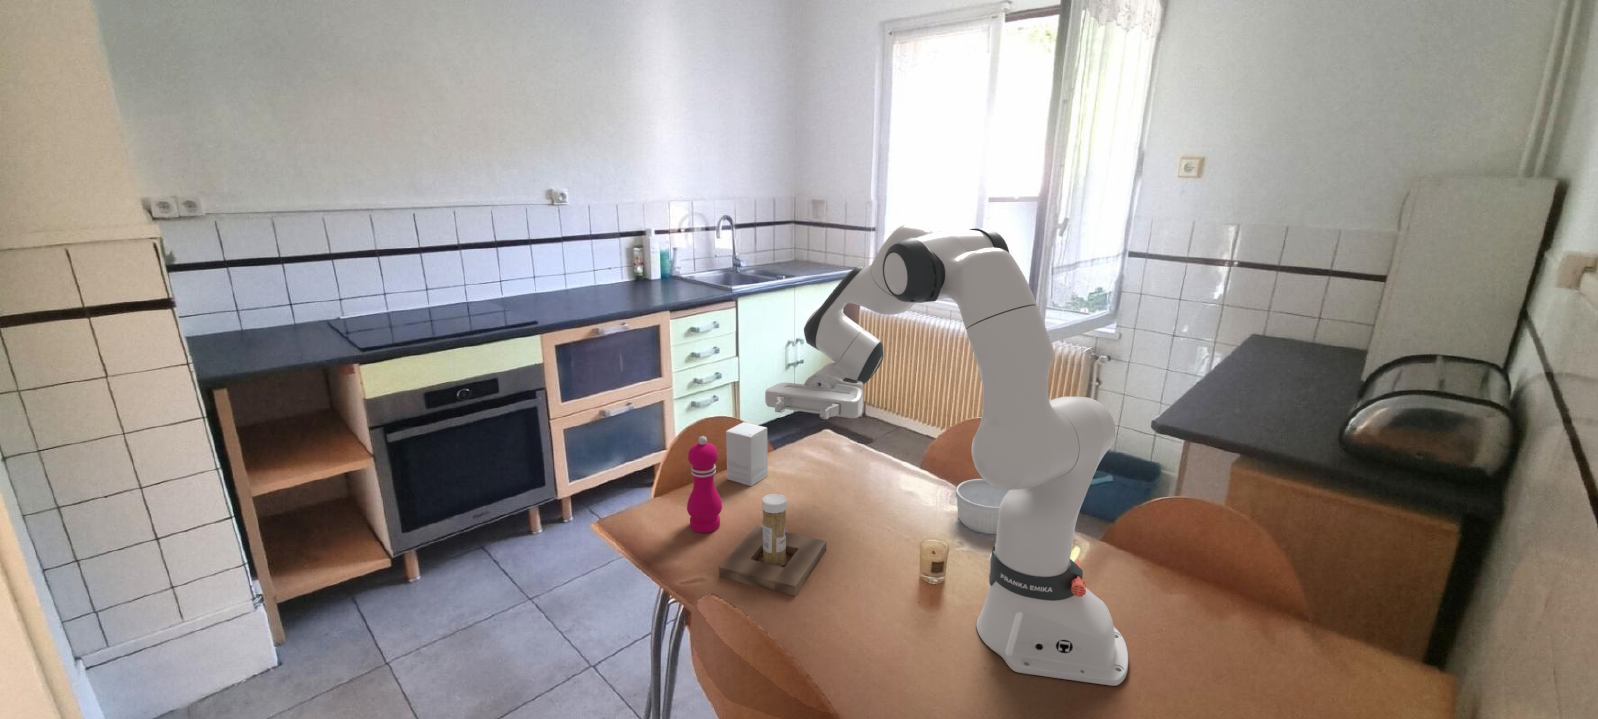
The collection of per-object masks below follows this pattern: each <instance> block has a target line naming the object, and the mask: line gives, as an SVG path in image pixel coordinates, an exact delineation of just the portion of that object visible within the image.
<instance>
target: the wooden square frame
mask: <svg viewBox="0 0 1598 719" xmlns="http://www.w3.org/2000/svg"><path fill="white" fill-rule="evenodd" d="M826 551H827V541H826V540H822V539H818V538H813V537H809V536H804V535H800V534H795V533H792V532H787V531H786V556H790V557H791V558H790V559H789V561H788V562H787V564H786V565H784V566H785V567H784V566H782V567H780V566H776V565H772V564H767V563H763V561H758V560H759V559H760V557H761V556H763V526H759V525H756V526H755V527H754V529H752V531H751V532H749V534H748V535H747V536H746V537H745V538H744V539H743V540H742V541H741V542H740V544H739V545H738V546H737V547H736V548H735V549H734V550H733V552H731V553H730V555H728V556H727V558H726V559H725V560H724V561H723V562H722V563H721V564H720V566H718V567H719V568H718V571H719V572H718V574H719V575H718V576H719V577H720V578H723V579H726V580H727V579H728V580H730V581H735V582H739V583H742V584H746V585H750V586H755V587H758V588H762V589H765V590H769V591H773V592H777V593H781V594H784V595H789V596H793V597H796V596H797V594H798V593H799V591H800V590H801V588H802V587H803V586H804V584H805V583H806V582H807V580H808V578H809V576H810V575H811V574H812V572H813V571H814V569H815V568H816V567H817V565H818V563H819V562H820V560H821V559H822V558H823V557H824V554H825V553H826Z"/></svg>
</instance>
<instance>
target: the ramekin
mask: <svg viewBox="0 0 1598 719" xmlns="http://www.w3.org/2000/svg"><path fill="white" fill-rule="evenodd" d="M1008 492H1009V490H1000V489H997V488H995V487H993V486H991V485H990V484H988V483H987V482H986V481H985V480H984V479H983V478H976V479H975V478H974V479H969V480H965V481H963V482H961V483H959V484H958V485H957V486H956V489H955V498H956V505H957V506H956V507H957V515H958V519H959V520H960V522H961V523H962V524H963V525H964V526H965V527H966V528H968V529H969V530H972V531H973V532H977V533H981V534H987V535H996V534H997V524H998V514H999V508H1000V504H1001V502H1002V500H1003V498H1004V497H1005V495H1006V494H1007V493H1008Z"/></svg>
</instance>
